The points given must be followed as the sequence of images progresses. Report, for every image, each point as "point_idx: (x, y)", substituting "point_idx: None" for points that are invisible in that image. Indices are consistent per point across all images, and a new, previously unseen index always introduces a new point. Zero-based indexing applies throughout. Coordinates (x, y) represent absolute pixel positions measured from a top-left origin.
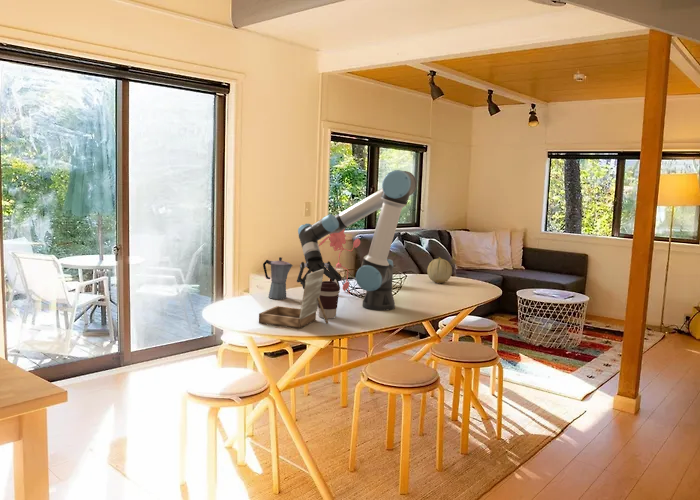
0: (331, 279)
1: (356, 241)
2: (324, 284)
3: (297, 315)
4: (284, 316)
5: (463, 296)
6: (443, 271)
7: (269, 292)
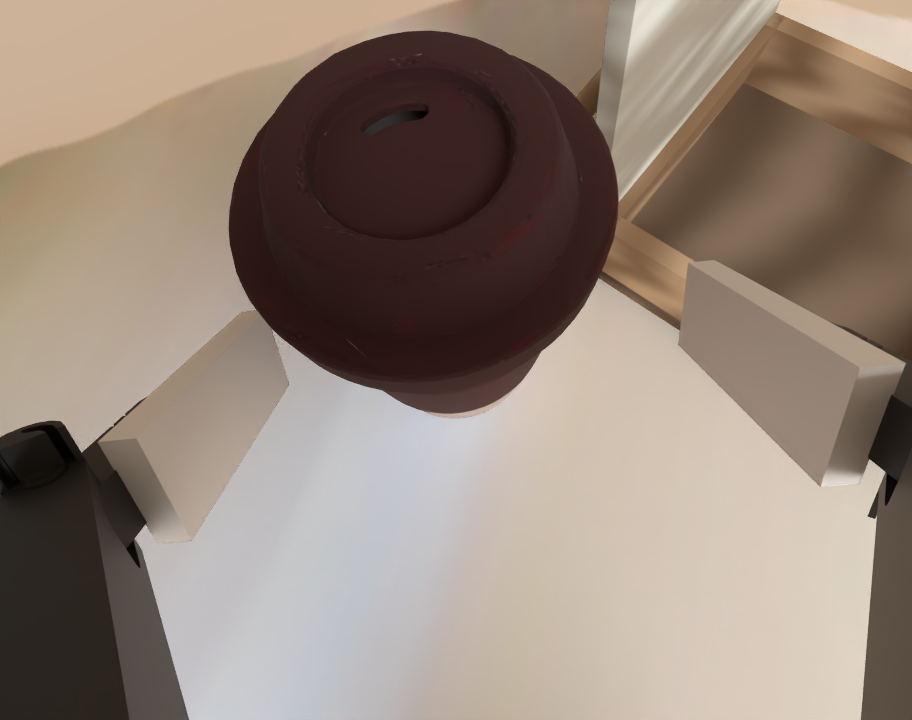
0: (153, 597)
1: None
2: (518, 68)
3: None
4: (896, 79)
5: None
6: None
7: None
